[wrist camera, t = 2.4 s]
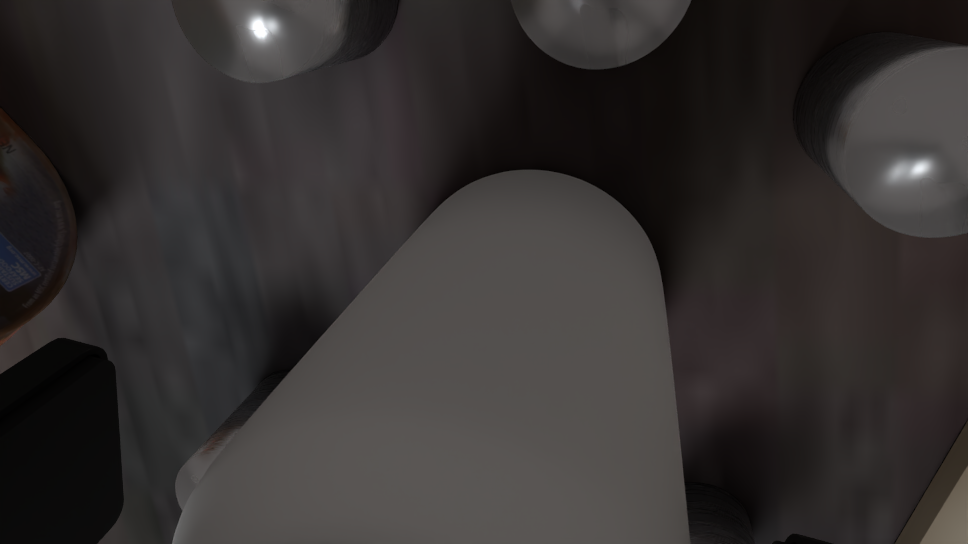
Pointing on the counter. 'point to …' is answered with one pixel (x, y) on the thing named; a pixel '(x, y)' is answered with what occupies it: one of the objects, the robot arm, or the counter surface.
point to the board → (943, 502)
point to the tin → (31, 229)
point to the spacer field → (619, 41)
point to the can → (474, 392)
